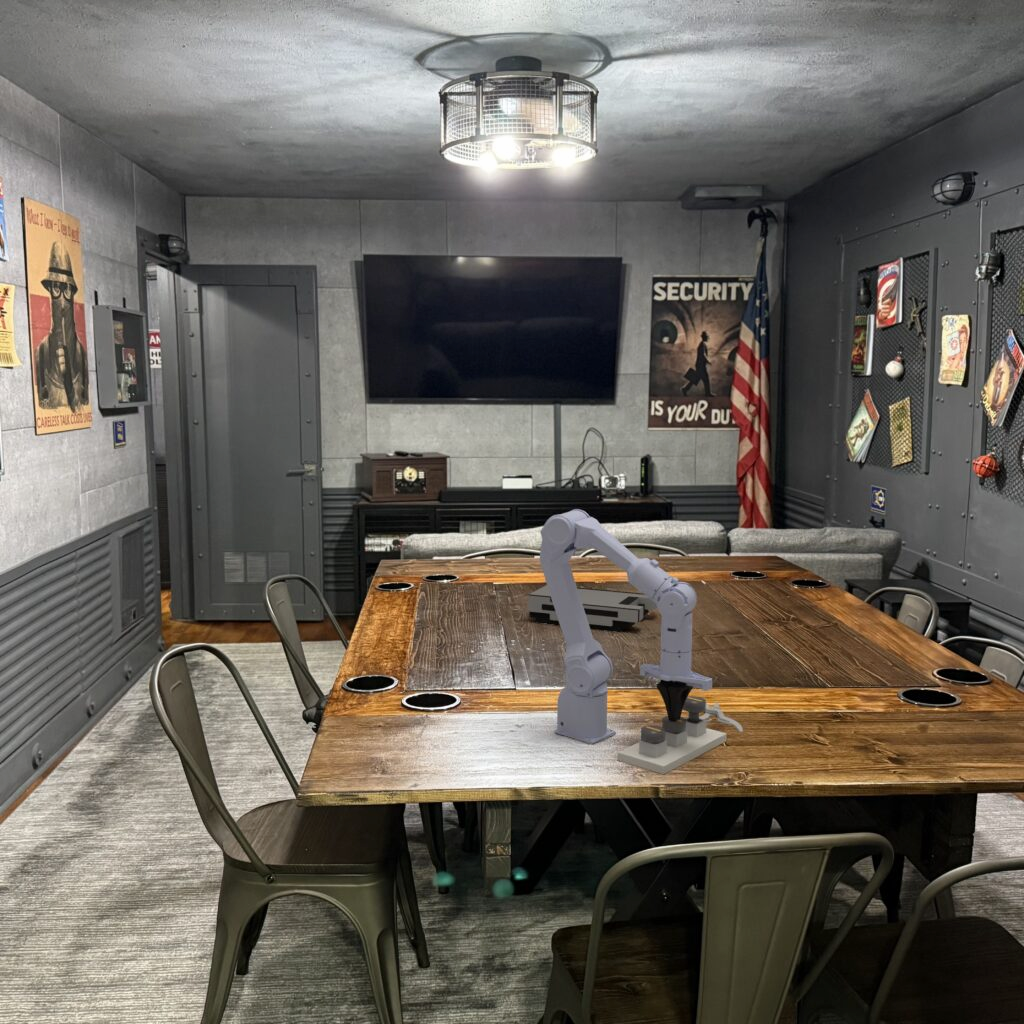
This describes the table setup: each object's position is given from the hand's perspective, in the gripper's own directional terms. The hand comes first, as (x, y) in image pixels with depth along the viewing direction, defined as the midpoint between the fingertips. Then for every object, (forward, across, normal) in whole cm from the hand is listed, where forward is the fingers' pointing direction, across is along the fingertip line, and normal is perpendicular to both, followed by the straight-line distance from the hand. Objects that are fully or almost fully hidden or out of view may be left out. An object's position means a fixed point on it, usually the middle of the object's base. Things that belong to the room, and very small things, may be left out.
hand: (674, 719), depth 194 cm
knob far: (+2, 0, +7) cm, 7 cm away
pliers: (+7, -3, +20) cm, 22 cm away
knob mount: (+6, 0, 0) cm, 6 cm away
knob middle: (+4, 0, 0) cm, 4 cm away
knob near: (+4, 0, -7) cm, 8 cm away
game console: (+6, -71, +70) cm, 100 cm away
